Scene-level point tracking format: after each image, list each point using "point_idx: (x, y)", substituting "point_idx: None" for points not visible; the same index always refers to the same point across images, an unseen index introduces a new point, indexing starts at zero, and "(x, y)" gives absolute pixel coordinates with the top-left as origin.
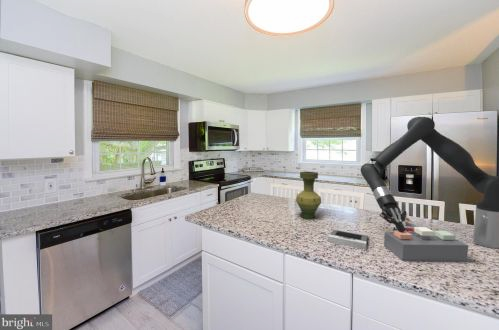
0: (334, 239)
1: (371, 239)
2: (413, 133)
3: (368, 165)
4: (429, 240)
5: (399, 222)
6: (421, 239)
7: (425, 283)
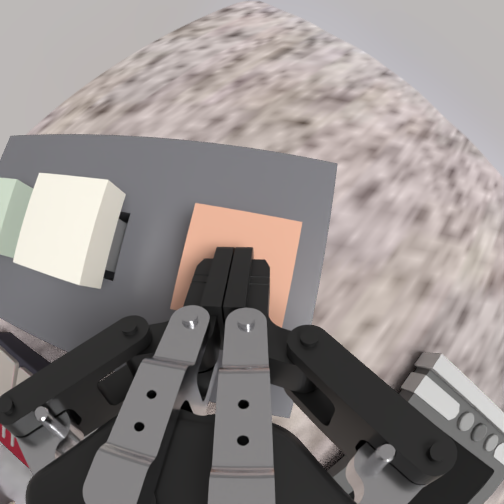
0: None
1: None
2: None
3: None
4: None
5: (214, 321)
6: (129, 218)
7: (354, 65)
